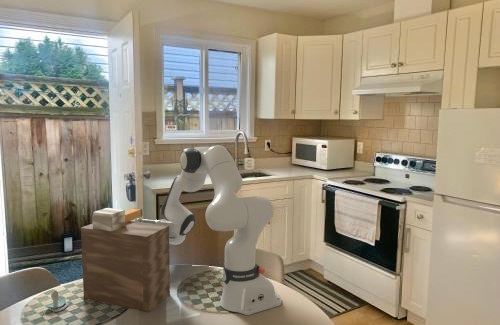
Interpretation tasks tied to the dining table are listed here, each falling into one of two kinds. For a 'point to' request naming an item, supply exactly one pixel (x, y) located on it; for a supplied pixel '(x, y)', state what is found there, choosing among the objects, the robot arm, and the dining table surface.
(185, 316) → the dining table surface
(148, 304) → the shelf stand
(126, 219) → the plug
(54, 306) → the pacifier
